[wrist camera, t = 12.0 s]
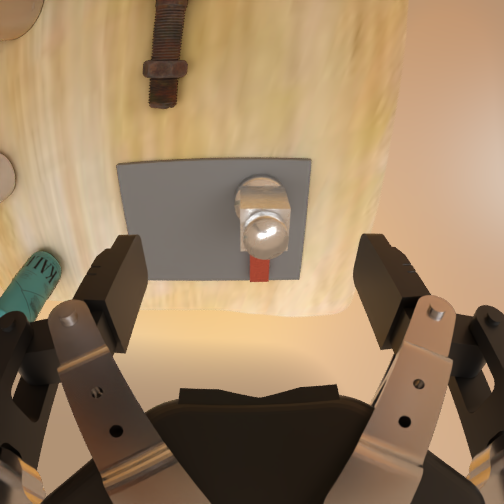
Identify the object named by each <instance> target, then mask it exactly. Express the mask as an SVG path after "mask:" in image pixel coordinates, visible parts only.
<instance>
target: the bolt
mask: <svg viewBox="0 0 504 504" xmlns="http://www.w3.org/2000/svg"><path fill="white" fill-rule="evenodd" d="M187 3H188V0H156V6H155V7H156V14H155V15H156V16H155V18H156V19H155V21H156V22H154V23H155V25H154V26H155V27H154V31H153V32H154V33H153V35H154V36H153V37H154V39H153V40H154V41H153V42H152V43H153V45H152V46H153V48H152V49H154V50H152V52H153V53H152V55H153V56H151V57H152V59H151V60H148V61H145V62H144V64H143V75H144V76H145V77H147V78H151V79H150V81H151V82H150V85H149V86H150V88H149V89H150V91H149V92H150V94H149V95H150V96H149V98H150V99H149V101H150V102H148V103H149V104H150V105H149V106H150V107H152V108H161V109H167V108H169V107H170V108H173V107H174V106H175V105H176V104H177V103H176V102H177V100H176V99H177V98H176V96H177V95H176V94H177V90H178V89H177V87H178V86H177V85H178V83H177V82H178V80H177V79H178V78H179V77H183V76H185V75H186V74H187V66H188V64H187V63H186V61H185V60H178V59H180V57H179V56H180V54H179V53H181V52H180V50H181V49H180V47H181V46H180V45H181V44H182V43H180V42H181V41H182V40H180V39H182V37H181V36H183V35H182V33H183V32H182V30H183V29H182V28H183V26H182V25H184V23H183V22H184V21H183V20H184V19H185V18H183V17H184V16H185V15H184V14H185V12H184V11H186V7H187Z"/></svg>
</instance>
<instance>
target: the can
mask: <svg viewBox="0 0 504 504" xmlns="http://www.w3.org/2000/svg"><path fill="white" fill-rule="evenodd" d="M14 186H15V174H14V170H13V167H12V165H11V163H10V161H9V160H8V159H7V158H6V157H5V156H4V155H2V154H0V203H1V202H2V201H3V200H4V199H6V198H7V197H8V196H9V195H10V194H11V193H12V191H13V190H14Z"/></svg>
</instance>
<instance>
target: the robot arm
mask: <svg viewBox="0 0 504 504" xmlns="http://www.w3.org/2000/svg"><path fill="white" fill-rule="evenodd" d="M42 5H43V0H0V41H3V40H12V39H16V38H18V37H20V36H22V35H23V34H25V33H26V32H27V31H28V30H29V29H30V28H31V27H32V25H33V24H34V23H35V21H36V19H37V18H38V16H39V14H40V11H41V8H42ZM353 279H354V284H355V287H356V289H357V291H358V294H359V296H360V299H361V301H362V304H363V306H364V309H365V311H366V313H367V316H368V318H369V321H370V323H371V326H372V328H373V331H374V333H375V336H376V339H377V342H378V344H379V347H380V349H381V350H384V349H393V351H394V354H393V356H392V358H391V361H390V363H389V365H388V368H387V370H386V372H385V374H384V376H383V379H382V381H381V383H380V385H379V387H378V389H377V391H376V393H375V395H374V397H373V399H372V401H371V403H370V405H369V404H367V403H365V402H362V401H360V400H357V399H355V398H351V397H347V396H342V395H339V393H338V388H337V385H336V384H335V385H324V386H311V387H299V388H296V389H292V390H288V391H285V392H281V393H278V394H274V395H270V396H266V397H262V398H257V397H251V396H247V395H241V394H236V393H232V392H227V391H223V390H219V389H187V388H180V393H179V399H176V400H172V401H168V402H165V403H162V404H160V405H157V406H156V407H153V408H152V409H150V410H148V411H147V412H145V413H144V411H143V409H142V408H141V406H140V404H139V403H138V401H137V400H136V398H135V396H134V395H133V393H132V391H131V389H130V387H129V386H128V384H127V382H126V380H125V379H124V377H123V375H122V373H121V372H120V370H119V368H118V366H117V364H116V362H115V360H114V359H113V355H114V353H126V350H127V347H128V344H129V340H130V337H131V334H132V330H133V327H134V324H135V321H136V318H137V314H138V312H139V308H140V305H141V302H142V299H143V296H144V293H145V290H146V287H147V283H148V270H147V265H146V261H145V256H144V251H143V246H142V241H141V238H140V236H139V235H119V236H118V237H117V239H116V240H115V242H114V244H113V245H112V247H111V249H105V250H104V251H103V252H102V253H100V254H99V255H98V256H97V257H96V258H95V260H94V262H93V263H92V265H91V268H90V269H89V270H88V272H87V275H86V276H85V277H84V279H83V281H82V283H81V284H80V286H79V288H78V290H77V292H76V293H75V295H74V297H73V299H72V300H68V301H65V302H62V303H60V304H59V305H57V306H56V307H55V308H54V309H53V310H52V311H51V313H50V314H49V317H48V319H44V320H39V321H34V322H29V321H28V319H27V317H26V315H25V314H24V313H23V312H21V311H11V312H8V313H6V314H4V315H3V316H2V317H0V504H504V315H503V313H502V312H500V311H499V310H498V309H496V308H494V307H491V306H488V305H483V306H480V307H478V309H477V310H476V312H475V314H474V316H473V317H472V316H466V315H460V314H456V313H455V310H454V308H453V307H452V306H451V304H450V303H449V302H447V301H446V300H444V299H442V298H440V297H437V296H434V295H431V294H430V293H429V291H428V289H427V288H426V286H425V285H424V283H423V281H422V280H421V278H420V277H419V275H418V274H417V273H416V272H415V269H414V268H413V266H412V265H411V263H410V262H409V260H408V259H407V257H406V256H405V255H404V254H403V253H402V252H401V251H399V250H398V249H397V248H396V247H391V245H390V244H389V242H388V241H387V239H386V238H385V236H384V235H383V234H362V236H361V238H360V242H359V247H358V251H357V256H356V260H355V265H354V270H353ZM486 363H487V364H488V367H489V369H490V371H491V373H492V375H493V378H494V382H495V386H494V390H493V392H491V390H490V388H489V386H488V383H487V381H486V378H485V376H484V374H483V372H482V368H483V366H484V365H485V364H486ZM17 372H19V373H20V375H21V378H20V380H19V383H18V385H17V388H16V391H15V394H14V397H13V399H12V396H11V388H12V385H13V382H14V380H15V377H16V375H17ZM60 382H61V383H62V386H63V389H64V391H65V394H66V397H67V400H68V402H69V405H70V407H71V410H72V412H73V415H74V418H75V420H76V422H77V425H78V427H79V429H80V432H81V434H82V436H83V438H84V441H85V443H86V445H87V447H88V449H89V451H90V454H91V456H92V459H91V460H90V461H89V462H88V463H86V464H85V465H84V466H83V467H82V468H80V469H79V470H78V471H77V472H76V473H75V474H73V475H72V476H71V477H70V478H69V479H67V480H66V481H65V482H64V483H63V484H61V485H60V486H59V487H58V488H57V489H55V490H54V491H53V492H52V493H50V494H49V495H48V496H47V497H46V498H45V496H46V493H45V490H44V488H43V483H42V479H41V477H40V475H39V473H38V472H37V467H38V462H39V457H40V452H41V448H42V443H43V439H44V435H45V431H46V427H47V423H48V419H49V415H50V412H51V408H52V404H53V401H54V397H55V394H56V391H57V388H58V384H59V383H60ZM447 386H449V389H450V391H451V394H452V397H453V400H454V403H455V405H456V408H457V411H458V414H459V417H460V420H461V423H462V426H463V430H464V433H465V436H466V439H467V443H468V446H469V450H470V453H471V456H472V462H471V464H470V468H469V474H468V475H467V477H466V478H465V477H464V476H462V475H461V474H460V473H458V472H457V471H456V470H454V469H453V468H452V467H450V466H449V465H447V464H446V463H445V462H444V461H442V460H441V459H439V458H438V457H437V456H435V455H434V454H433V453H432V452H430V451H429V450H428V447H429V444H430V442H431V439H432V436H433V433H434V430H435V427H436V424H437V421H438V418H439V414H440V411H441V407H442V404H443V401H444V397H445V393H446V390H447Z"/></svg>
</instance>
